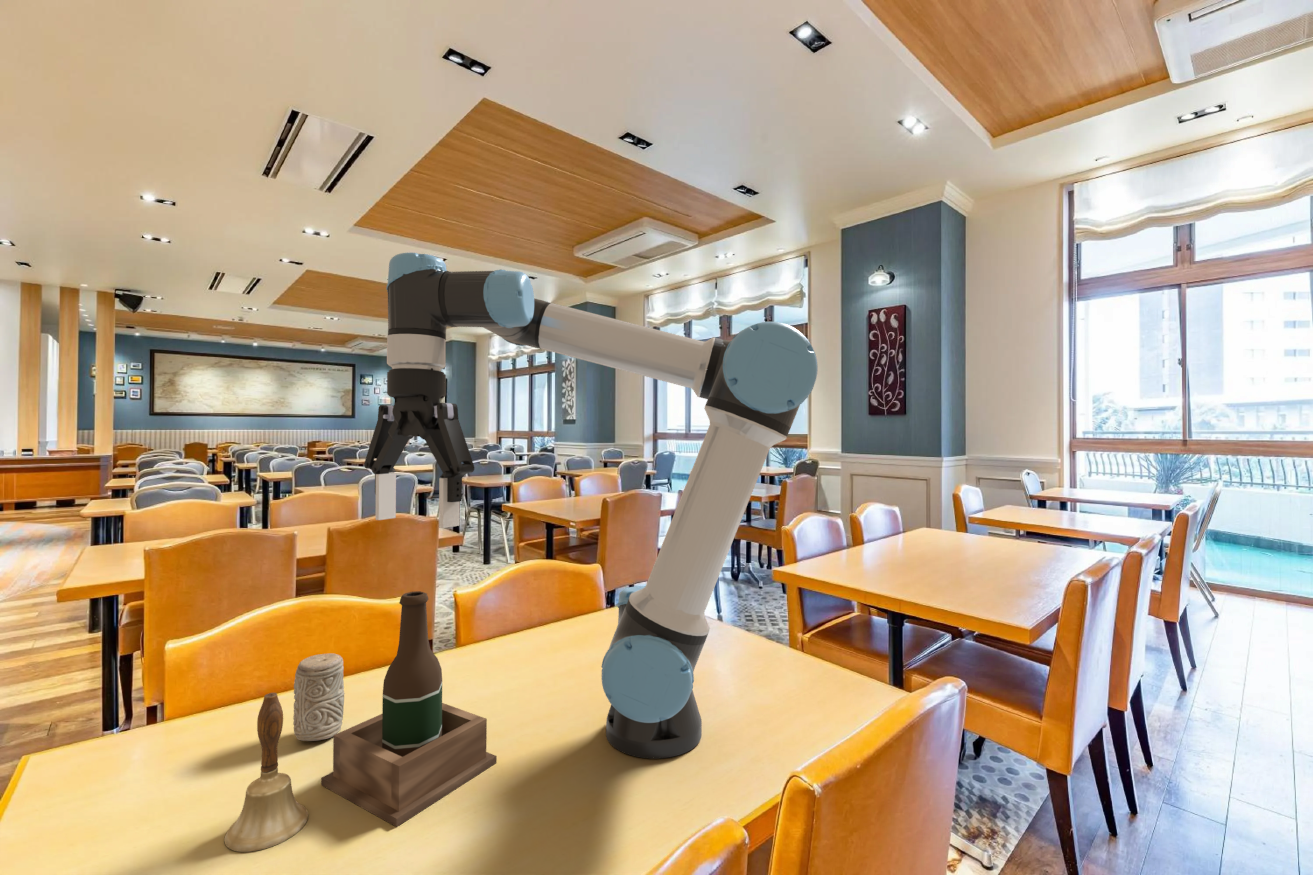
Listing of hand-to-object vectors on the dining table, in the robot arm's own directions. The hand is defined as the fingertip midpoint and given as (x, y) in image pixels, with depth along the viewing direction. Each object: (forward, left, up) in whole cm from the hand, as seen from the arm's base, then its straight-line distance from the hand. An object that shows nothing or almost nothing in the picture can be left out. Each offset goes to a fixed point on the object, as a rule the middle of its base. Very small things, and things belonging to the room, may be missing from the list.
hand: (416, 522), depth 80 cm
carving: (+21, +1, -35) cm, 41 cm away
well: (0, 0, -35) cm, 35 cm away
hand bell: (+5, +16, -35) cm, 39 cm away
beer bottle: (0, 0, -34) cm, 34 cm away
